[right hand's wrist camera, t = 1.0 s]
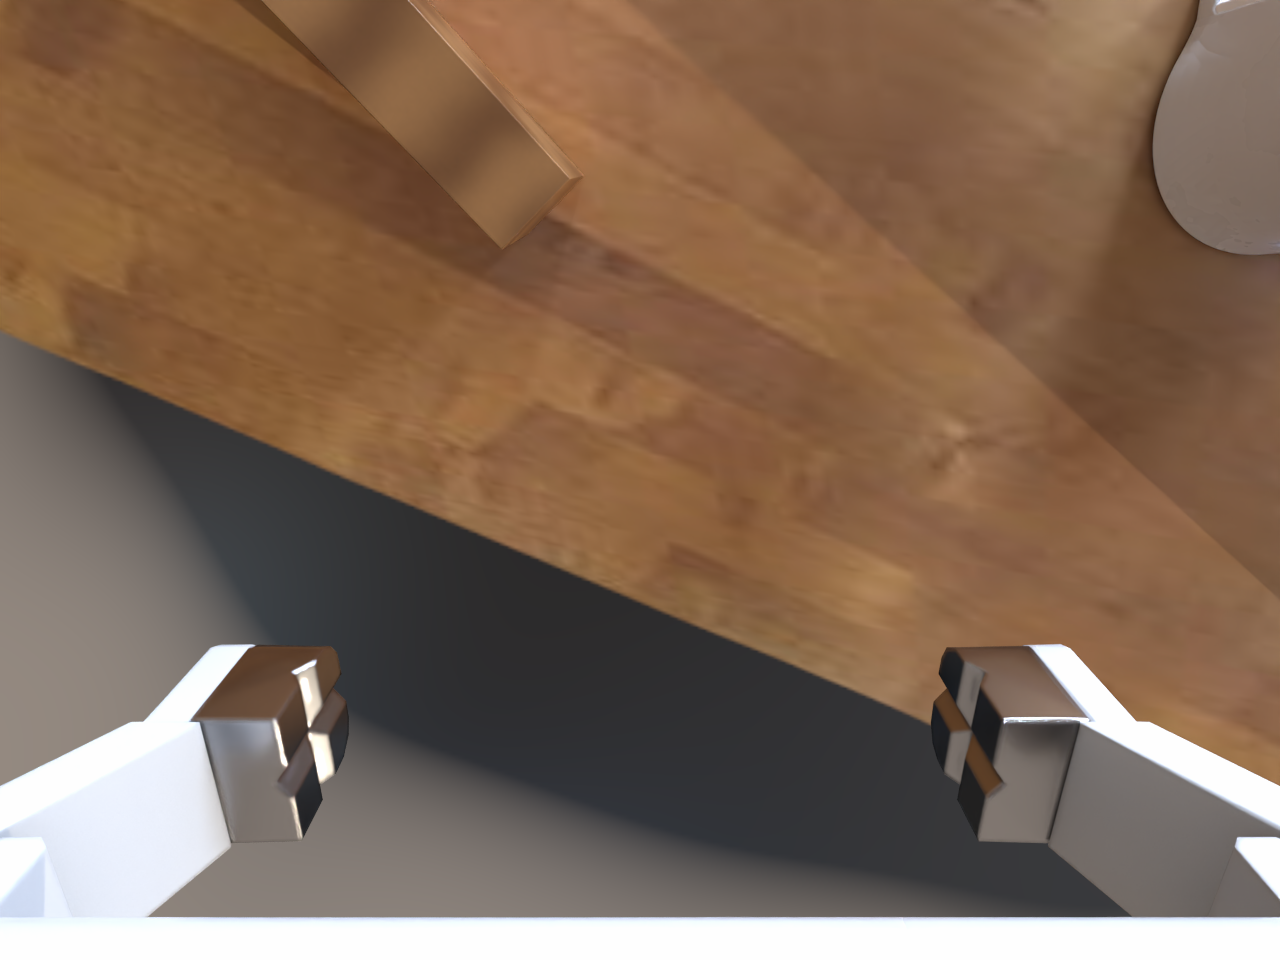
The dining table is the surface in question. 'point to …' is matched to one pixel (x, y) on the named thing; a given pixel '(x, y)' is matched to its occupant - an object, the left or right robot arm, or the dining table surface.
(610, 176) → the dining table surface
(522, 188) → the post
